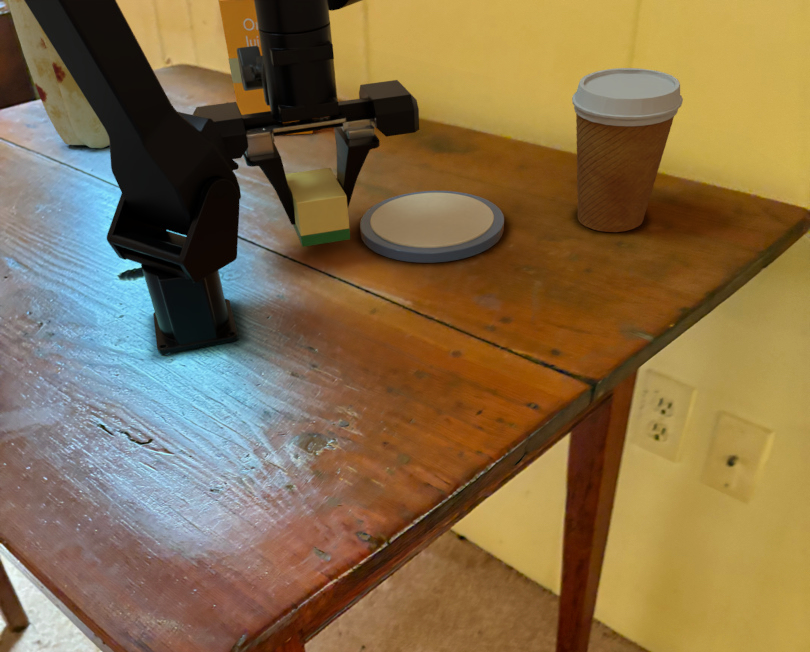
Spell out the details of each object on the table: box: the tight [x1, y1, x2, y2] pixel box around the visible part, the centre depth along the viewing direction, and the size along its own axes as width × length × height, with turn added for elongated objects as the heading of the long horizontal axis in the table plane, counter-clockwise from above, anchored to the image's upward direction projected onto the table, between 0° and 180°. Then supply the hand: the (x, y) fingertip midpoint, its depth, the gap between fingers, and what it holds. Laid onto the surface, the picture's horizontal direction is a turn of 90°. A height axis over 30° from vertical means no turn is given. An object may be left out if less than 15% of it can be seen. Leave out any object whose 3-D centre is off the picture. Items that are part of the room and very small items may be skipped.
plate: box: [359, 190, 505, 264], centre depth 78 cm, size 14×14×1 cm
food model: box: [7, 0, 110, 149], centre depth 93 cm, size 10×7×20 cm
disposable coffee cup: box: [571, 67, 684, 233], centre depth 74 cm, size 10×10×12 cm
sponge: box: [285, 167, 351, 248], centre depth 74 cm, size 7×4×4 cm, turn 16°
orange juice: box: [218, 0, 315, 136], centre depth 95 cm, size 8×9×20 cm
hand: (318, 218), depth 75 cm, fingers closed on sponge, 4 cm apart
